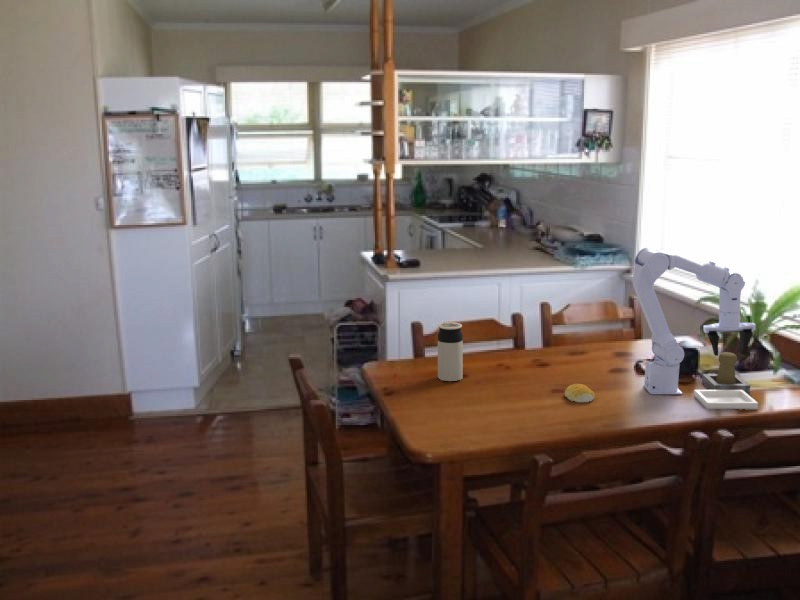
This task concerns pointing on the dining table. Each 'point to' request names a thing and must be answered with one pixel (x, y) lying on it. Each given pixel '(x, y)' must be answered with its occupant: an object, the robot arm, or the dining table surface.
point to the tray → (725, 399)
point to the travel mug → (450, 351)
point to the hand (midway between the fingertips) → (728, 354)
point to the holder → (713, 385)
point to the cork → (726, 368)
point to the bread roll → (579, 393)
